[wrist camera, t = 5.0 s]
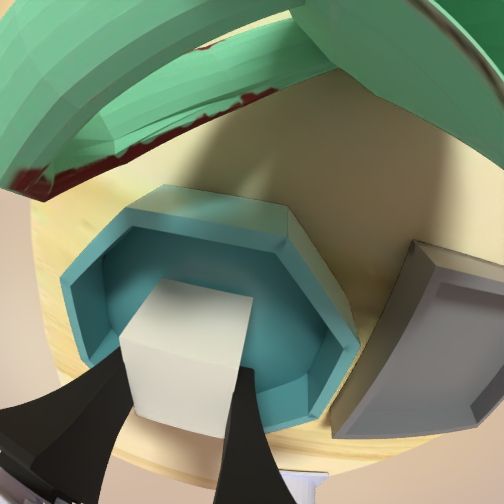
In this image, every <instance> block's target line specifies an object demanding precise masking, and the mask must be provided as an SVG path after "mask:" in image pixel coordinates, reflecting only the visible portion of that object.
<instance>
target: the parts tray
mask: <svg viewBox="0 0 504 504" xmlns="http://www.w3.org/2000/svg"><path fill="white" fill-rule="evenodd" d="M503 400H504V266H503V265H499V264H496V263H493V262H490V261H487V260H483V259H480V258H477V257H473V256H470V255H467V254H463V253H460V252H456V251H453V250H449V249H446V248H442V247H438V246H435V245H431V244H427V243H424V242H420V241H416V240H412V243H411V246H410V249H409V251H408V254H407V257H406V259H405V262H404V264H403V267H402V269H401V272H400V274H399V277H398V279H397V282H396V284H395V286H394V289H393V291H392V293H391V295H390V298H389V300H388V302H387V304H386V307H385V309H384V311H383V313H382V315H381V317H380V319H379V321H378V323H377V325H376V327H375V330H374V332H373V334H372V335H371V337H370V339H369V341H368V343H367V345H366V347H365V349H364V351H363V353H362V355H361V356H360V358H359V360H358V362H357V364H356V365H355V367H354V369H353V371H352V372H351V374H350V376H349V378H348V379H347V381H346V383H345V384H344V386H343V388H342V389H341V391H340V393H339V394H338V396H337V397H336V399H335V401H334V402H333V404H332V405H331V407H330V416H331V431H332V439H389V438H405V437H417V436H426V435H435V434H442V433H449V432H454V431H461V430H466V429H471V428H476V427H478V426H479V425H480V424H481V423H482V422H483V421H484V420H485V419H486V418H487V417H488V416H489V415H490V414H491V413H492V412H493V411H494V410H495V408H496V407H497V406H498V405H499V404H500V403H501V402H502V401H503Z"/></svg>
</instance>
